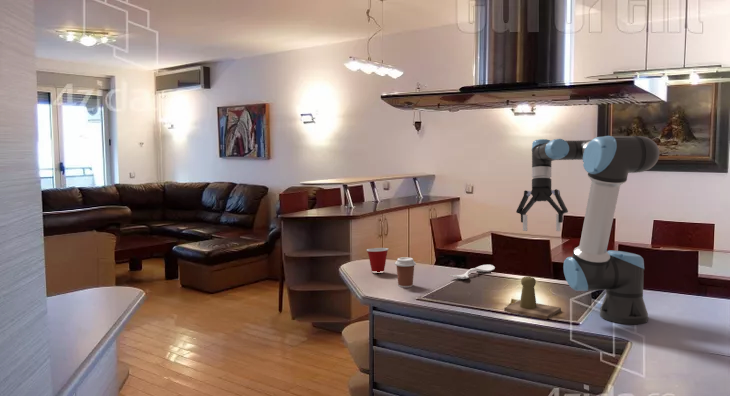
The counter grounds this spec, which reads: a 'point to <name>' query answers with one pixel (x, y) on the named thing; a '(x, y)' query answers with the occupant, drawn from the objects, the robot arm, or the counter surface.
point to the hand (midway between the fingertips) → (541, 231)
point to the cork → (528, 293)
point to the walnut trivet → (533, 310)
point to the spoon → (480, 268)
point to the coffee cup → (405, 271)
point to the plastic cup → (377, 258)
